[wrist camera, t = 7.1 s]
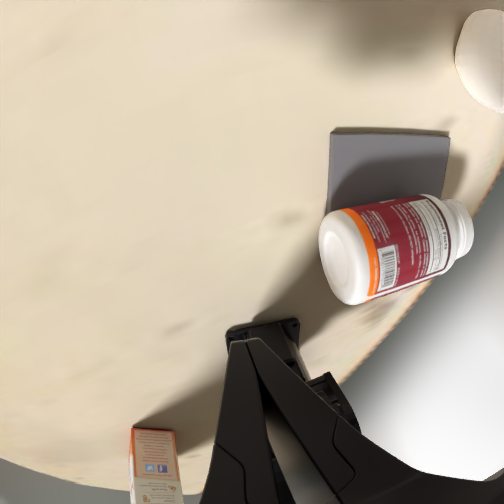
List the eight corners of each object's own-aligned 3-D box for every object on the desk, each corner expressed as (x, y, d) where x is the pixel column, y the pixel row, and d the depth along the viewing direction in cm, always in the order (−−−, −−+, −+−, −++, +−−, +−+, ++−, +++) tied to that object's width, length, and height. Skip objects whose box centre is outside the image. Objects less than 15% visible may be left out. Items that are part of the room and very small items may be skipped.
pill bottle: (310, 245, 23) (420, 220, 25) (339, 320, 20) (452, 280, 22) (326, 190, 18) (450, 173, 20) (370, 281, 15) (493, 239, 17)
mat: (425, 240, 26) (429, 244, 25) (322, 262, 24) (325, 266, 23) (445, 136, 20) (450, 138, 20) (329, 133, 18) (334, 135, 18)
